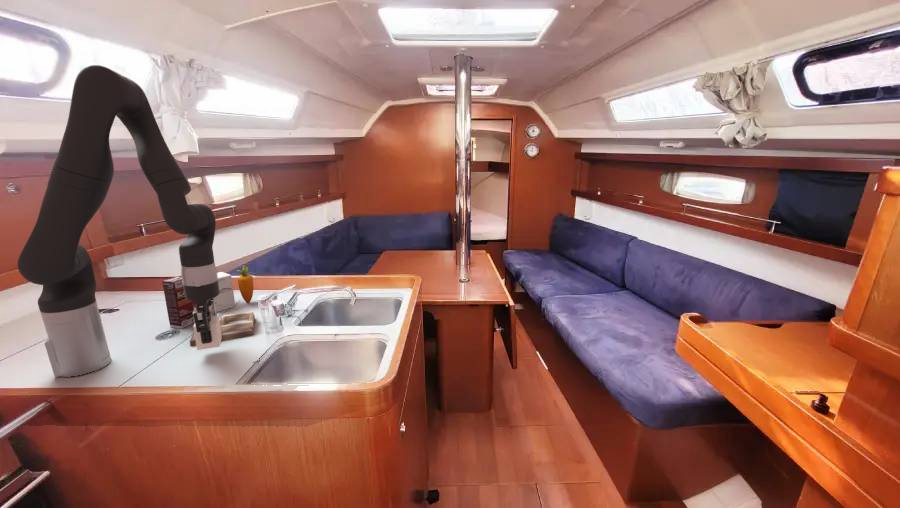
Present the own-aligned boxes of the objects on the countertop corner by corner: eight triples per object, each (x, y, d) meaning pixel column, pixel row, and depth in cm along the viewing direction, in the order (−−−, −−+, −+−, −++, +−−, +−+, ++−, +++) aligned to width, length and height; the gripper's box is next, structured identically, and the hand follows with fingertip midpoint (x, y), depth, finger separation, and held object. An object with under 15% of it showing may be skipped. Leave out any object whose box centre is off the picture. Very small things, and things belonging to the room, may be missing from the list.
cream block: (196, 350, 89) (193, 326, 87) (200, 341, 93) (197, 318, 92) (219, 346, 91) (216, 323, 90) (221, 338, 96) (218, 316, 94)
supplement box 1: (181, 329, 107) (173, 282, 103) (169, 327, 107) (160, 281, 103) (206, 317, 115) (198, 274, 111) (194, 316, 116) (186, 273, 112)
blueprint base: (190, 346, 97) (185, 319, 95) (198, 327, 108) (194, 302, 106) (253, 334, 104) (250, 309, 102) (254, 318, 115) (251, 295, 113)
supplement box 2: (214, 313, 118) (209, 279, 115) (204, 308, 122) (199, 275, 119) (236, 306, 124) (231, 274, 121) (226, 302, 128) (221, 271, 125)
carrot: (251, 306, 125) (246, 268, 121) (238, 305, 125) (232, 268, 121) (258, 301, 130) (254, 264, 126) (246, 300, 130) (241, 264, 126)
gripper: (188, 273, 92) (197, 329, 96) (175, 290, 80) (186, 353, 84) (221, 271, 96) (228, 324, 100) (213, 287, 83) (221, 347, 87)
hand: (208, 337), depth 92 cm, fingers closed on cream block, 5 cm apart
